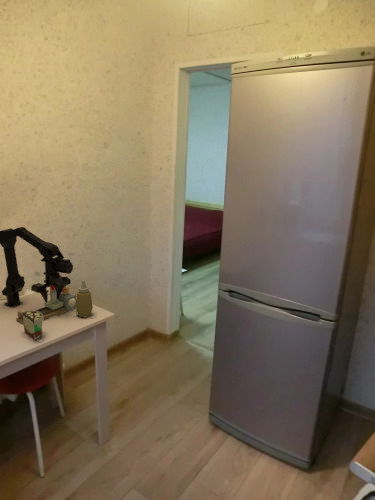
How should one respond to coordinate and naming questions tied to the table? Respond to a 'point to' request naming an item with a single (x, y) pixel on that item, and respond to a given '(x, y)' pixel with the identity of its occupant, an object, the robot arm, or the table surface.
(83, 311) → the squeeze bottle
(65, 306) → the cabinet
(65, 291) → the brown rounded piece
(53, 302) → the carriage
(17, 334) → the table surface
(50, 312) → the slide rail
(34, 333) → the food container
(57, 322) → the table surface
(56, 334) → the table surface
